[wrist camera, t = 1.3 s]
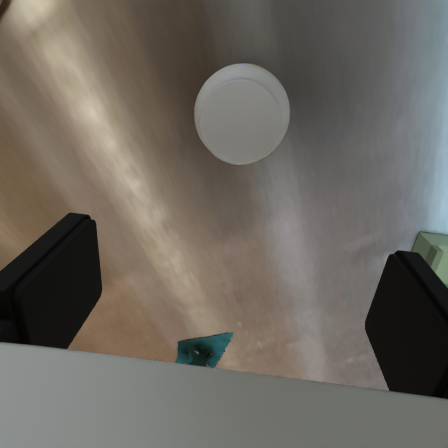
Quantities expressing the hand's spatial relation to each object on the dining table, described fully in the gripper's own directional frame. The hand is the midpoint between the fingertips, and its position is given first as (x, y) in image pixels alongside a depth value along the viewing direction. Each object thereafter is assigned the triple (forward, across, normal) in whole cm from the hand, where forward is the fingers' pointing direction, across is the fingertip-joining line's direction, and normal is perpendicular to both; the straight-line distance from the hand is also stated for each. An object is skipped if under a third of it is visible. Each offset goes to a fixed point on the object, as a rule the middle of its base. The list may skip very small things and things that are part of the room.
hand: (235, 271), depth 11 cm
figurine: (+21, +3, +28) cm, 36 cm away
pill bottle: (+22, +1, -3) cm, 22 cm away
